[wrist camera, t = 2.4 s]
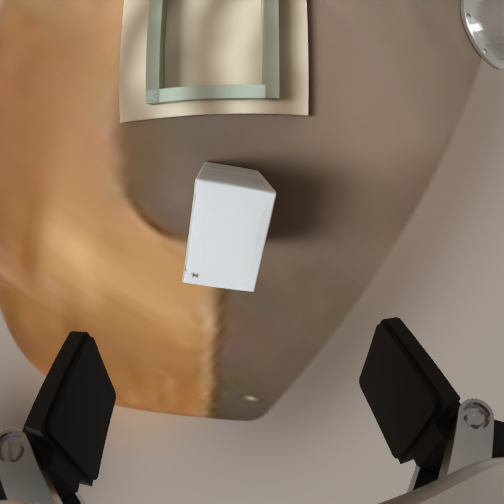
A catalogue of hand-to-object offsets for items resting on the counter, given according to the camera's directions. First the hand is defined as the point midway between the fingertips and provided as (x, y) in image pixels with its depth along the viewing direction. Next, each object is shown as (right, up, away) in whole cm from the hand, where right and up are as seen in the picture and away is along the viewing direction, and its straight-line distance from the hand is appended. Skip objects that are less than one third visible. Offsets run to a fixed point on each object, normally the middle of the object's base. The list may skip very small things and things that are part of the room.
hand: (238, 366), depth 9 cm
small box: (-2, +9, +21) cm, 23 cm away
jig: (-3, +24, +14) cm, 28 cm away
